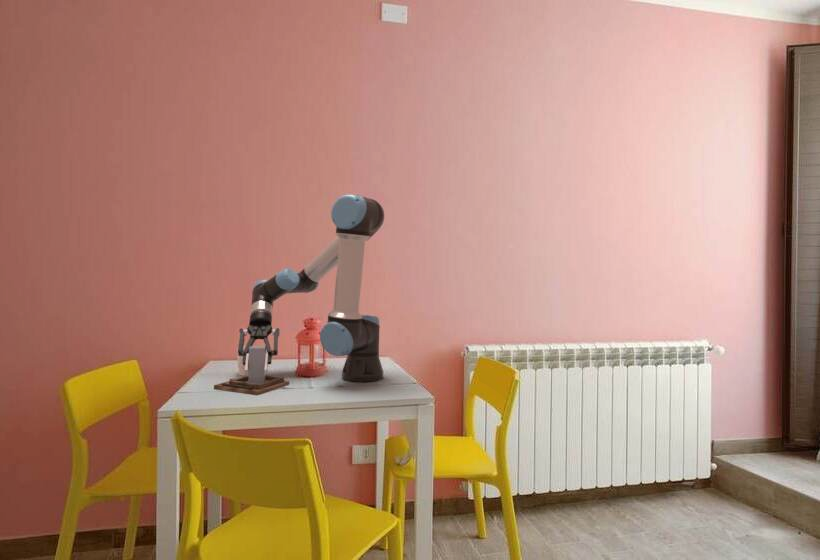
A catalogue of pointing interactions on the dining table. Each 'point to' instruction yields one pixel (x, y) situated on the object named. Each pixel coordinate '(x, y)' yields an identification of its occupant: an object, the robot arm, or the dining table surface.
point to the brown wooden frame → (252, 385)
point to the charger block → (257, 364)
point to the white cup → (241, 364)
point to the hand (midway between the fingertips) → (256, 371)
